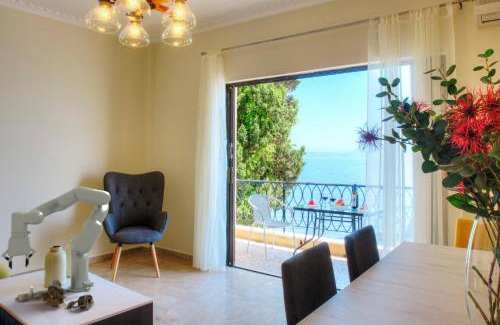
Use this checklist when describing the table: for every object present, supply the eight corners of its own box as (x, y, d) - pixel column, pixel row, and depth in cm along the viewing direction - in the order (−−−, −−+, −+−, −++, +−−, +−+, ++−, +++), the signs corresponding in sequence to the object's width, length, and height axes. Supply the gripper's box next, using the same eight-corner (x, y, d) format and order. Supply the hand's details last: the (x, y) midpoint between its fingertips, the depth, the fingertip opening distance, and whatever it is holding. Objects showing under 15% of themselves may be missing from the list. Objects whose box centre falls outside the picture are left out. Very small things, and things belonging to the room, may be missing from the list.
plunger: (31, 298, 191) (31, 290, 191) (29, 293, 198) (29, 285, 198) (33, 297, 192) (33, 289, 192) (32, 293, 199) (32, 285, 199)
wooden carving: (38, 304, 187) (38, 285, 187) (45, 301, 191) (46, 282, 191) (61, 309, 181) (62, 289, 181) (69, 305, 185) (69, 286, 185)
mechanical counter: (79, 303, 175) (96, 293, 183) (63, 296, 181) (80, 286, 189) (81, 316, 176) (98, 305, 185) (65, 308, 183) (82, 298, 191)
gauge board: (19, 302, 189) (19, 291, 189) (17, 297, 197) (17, 286, 197) (61, 294, 201) (61, 284, 201) (58, 289, 209) (58, 279, 209)
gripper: (36, 231, 201) (36, 263, 201) (-1, 235, 191) (-1, 268, 191) (38, 233, 195) (38, 266, 195) (0, 237, 185) (-1, 271, 185)
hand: (18, 267), depth 193 cm, fingers open, 6 cm apart
